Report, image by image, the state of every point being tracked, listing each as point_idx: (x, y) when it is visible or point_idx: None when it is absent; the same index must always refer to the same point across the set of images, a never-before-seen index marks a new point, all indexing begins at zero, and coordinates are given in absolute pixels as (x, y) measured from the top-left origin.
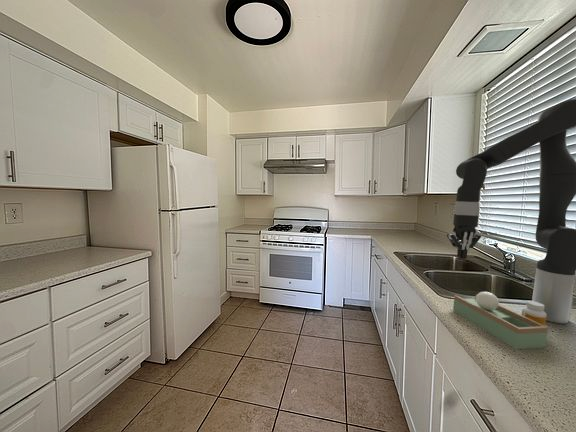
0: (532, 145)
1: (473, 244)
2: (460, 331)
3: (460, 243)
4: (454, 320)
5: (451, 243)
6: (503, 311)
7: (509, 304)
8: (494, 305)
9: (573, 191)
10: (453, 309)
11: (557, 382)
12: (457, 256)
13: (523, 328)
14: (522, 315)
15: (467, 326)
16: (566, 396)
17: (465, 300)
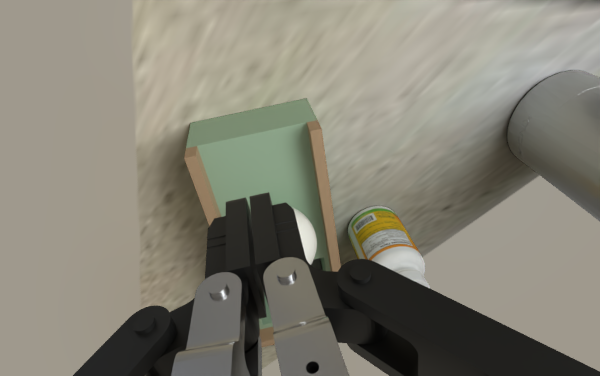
0: None
1: (395, 356)
2: (141, 258)
3: (241, 343)
4: (155, 198)
5: (85, 366)
6: (324, 233)
7: (531, 11)
8: None
9: None
10: (190, 128)
11: None
12: (213, 221)
13: (269, 344)
14: (363, 254)
15: (183, 228)
16: None
17: (208, 205)
